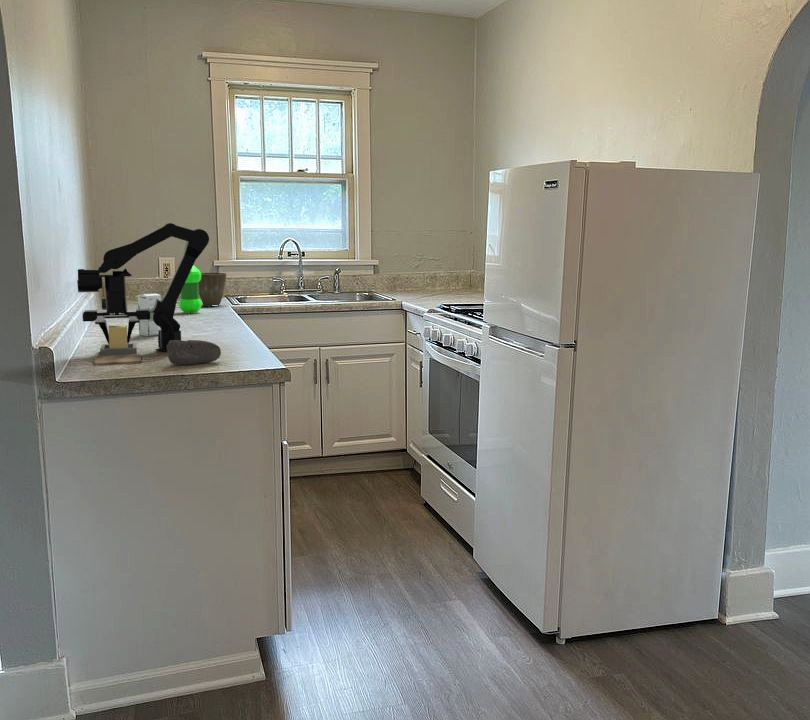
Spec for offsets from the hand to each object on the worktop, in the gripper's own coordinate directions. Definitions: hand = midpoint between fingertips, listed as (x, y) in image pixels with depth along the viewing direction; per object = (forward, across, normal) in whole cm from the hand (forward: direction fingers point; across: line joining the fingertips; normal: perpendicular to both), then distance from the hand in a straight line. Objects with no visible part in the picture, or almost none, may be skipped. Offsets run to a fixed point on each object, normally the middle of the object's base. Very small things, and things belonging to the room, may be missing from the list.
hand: (118, 343), depth 222 cm
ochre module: (+3, 0, 0) cm, 3 cm away
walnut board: (+3, 0, +14) cm, 14 cm away
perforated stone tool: (+3, -20, +25) cm, 32 cm away
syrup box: (+3, -10, -37) cm, 39 cm away
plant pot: (+3, -40, -134) cm, 140 cm away
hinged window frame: (+3, 0, -5) cm, 6 cm away
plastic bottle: (+3, -28, -106) cm, 110 cm away
